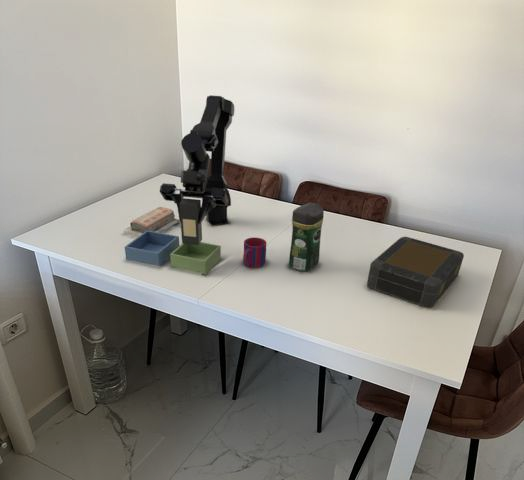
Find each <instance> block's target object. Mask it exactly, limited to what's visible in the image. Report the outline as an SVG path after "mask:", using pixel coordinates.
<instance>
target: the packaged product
mask: <svg viewBox="0 0 524 480" xmlns="http://www.w3.org/2000/svg"><path fill="white" fill-rule="evenodd" d="M175 215H176V214H175V212H174V210H173V209H171V208H168V207H163V206H159V207H157V208H155V209H152V210H150V211H149V212H146V213H144V214H142V215H141V216H139V217H136V218H135V219H133V220H131V221H130V226H128V227H126V228H124V229H123V233H124V234H127V235H130V236H134V237H136V238H137V237H139V236H140V235H141V234H143V233H144V232H145V231H147V230H148V231H153V232H158V233H163V232H164V231H166V230H168V229H169V228H170V227H173V226H174V225H176V224H178V223H181V222H180V219H179V218H175Z"/></svg>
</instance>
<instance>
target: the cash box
mask: <svg viewBox="0 0 524 480" xmlns="http://www.w3.org/2000/svg"><path fill="white" fill-rule="evenodd" d="M464 254H465V253H463V252H461V251H459V250H455V249H453V248H448V247H445V246H442V245H439V244H434V243H430V242H427V241H424V240H420V239H416V238H413V237H409V236H401V237H400V238H399V239H397V240H396V241H394V242H393V243H392V244H391V245H390V246H389V247H388V248H386V249H385V250H384V251H383V252H382V253H381V254H380V255H378V256H377V257H376V258H374V260H372V261H371V262H370V266H369V271H368V277H367V282H366V287H367V288H369V289H372V290H374V291H377V292H381V293H383V294H385V295H389V296H393V297H395V298H398V299H401V300H404V301H407V302H409V303H413V304H416V305H418V306H422V307H425V308H432V307H434V306H435V305H436V303H437V302H438V301H439V300H440V298H441V297H442V296H443V295H444V294H445V293H446V291H447V290H448V289H449V287H450V286H451V285H452V283H453V282H454V281H455V280H456V278H457V277H458V276H459V274H460V270H461V267H462V264H463V262H464V261H463V260H464V257H465V255H464Z"/></svg>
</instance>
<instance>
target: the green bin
mask: <svg viewBox="0 0 524 480" xmlns="http://www.w3.org/2000/svg"><path fill="white" fill-rule="evenodd" d="M221 247H222V246H221V245H219V244H213V243H209V242H202V241H201V242H200V244H199V245H193V244H183V243H182V242H181V244H179V247H178V248H177V249H176V250H174V251H173V252H172V253H171V254H170V257H169V258H170V268H175V269H180V270H184V271H185V270H186V271H189V272H194V273H200V274H201V276H207V275H208V274H209V273H210V272H211V271H212V270H213V268H214V267H215V265H216V264H217V263H218V262H219V260H221V258H222V255H221V253H222V252H221V251H222V248H221Z"/></svg>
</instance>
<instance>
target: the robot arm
mask: <svg viewBox="0 0 524 480" xmlns="http://www.w3.org/2000/svg"><path fill="white" fill-rule="evenodd" d="M205 101H206V102H205V107H204V110H203V113H202V116H201V118H200V122H199V123H196V124H195V125H194V126H193V127H192V129H190V132H189V133H187V134H186V135H185V136H183V138H182V139H181V143H180V144H181V145H180V146H181V148H182V149H183V152H184V155H185V158H186V159H187V160H188V168H187V169H186V170H180V183H181V184H182V188H184V189H181V188H178V187H177V186H176V184H175V183H166V182H165V183H162V184H161V185H160V187H159V194H160V195H161V196H162V198H163V200H165V201H167V202H173V203H174V204H176V208H177V213H178V219H179V220H180V222H179V223H181V218H180V202H181V201H182V199H183V198H191V199H201V210H200V214H199V220H198V224H201V223H202V222H203V221H204V220H205V219H206V221H207V222H208V223H209V224H210V225H211V226H216V225H218V226H219V225H226V224H229V223H230V222H229V220H228V208H229V207H231V206H232V198H231V194H230V191H229V189H228V183H227V181H226V179H225V177H224V175H225V173H224V171H225V159H226V145H227V144H226V141H227V131H228V129H229V128H230V126H231V124H232V122H233V117H234V116H235V104H234V103H233V101H232V100H231V99H226V98H225V97H224V96H222V95H207V96H206V100H205ZM207 152H210V153H211V154H210V155H209V153H207ZM209 168H210V169H209ZM209 170H210V171H209ZM208 175H209V176H208Z"/></svg>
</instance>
